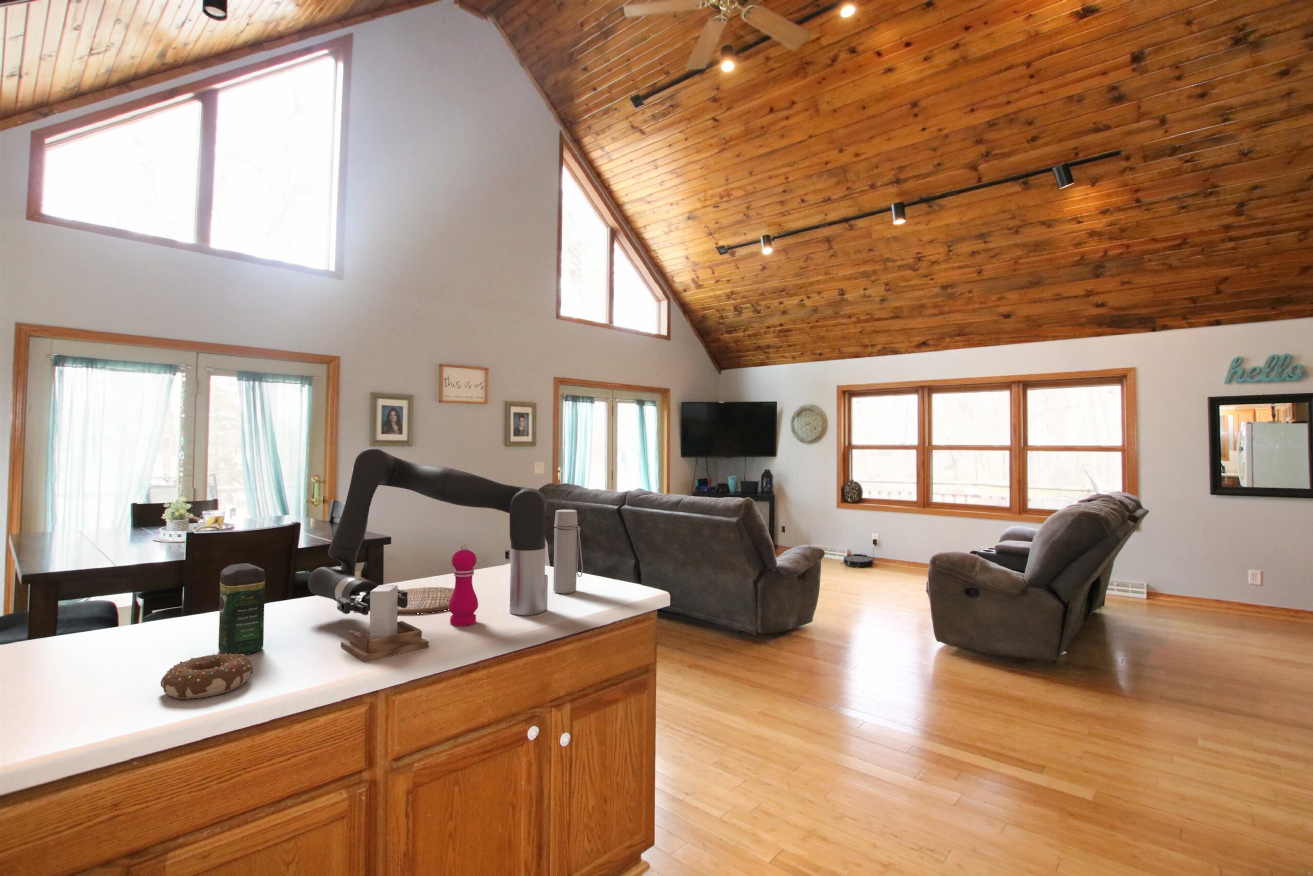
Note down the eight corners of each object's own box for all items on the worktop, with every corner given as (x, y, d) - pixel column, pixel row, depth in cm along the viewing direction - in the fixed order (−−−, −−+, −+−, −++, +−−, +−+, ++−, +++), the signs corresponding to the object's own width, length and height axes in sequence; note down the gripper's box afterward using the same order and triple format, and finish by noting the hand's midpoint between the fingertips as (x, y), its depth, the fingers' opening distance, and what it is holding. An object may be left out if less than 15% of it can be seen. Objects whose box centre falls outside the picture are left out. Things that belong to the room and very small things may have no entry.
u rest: (402, 634, 150) (402, 618, 150) (428, 646, 141) (428, 630, 141) (340, 647, 140) (341, 630, 140) (364, 661, 131) (364, 644, 131)
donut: (260, 689, 117) (261, 662, 117) (167, 710, 107) (168, 680, 107) (242, 668, 127) (242, 643, 127) (155, 686, 117) (156, 659, 117)
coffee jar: (267, 651, 136) (269, 565, 136) (224, 660, 131) (225, 570, 131) (256, 641, 143) (258, 559, 143) (214, 648, 138) (216, 563, 138)
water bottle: (549, 594, 192) (550, 511, 192) (557, 588, 199) (558, 509, 199) (578, 595, 190) (579, 512, 190) (585, 589, 198) (586, 509, 198)
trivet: (379, 596, 187) (379, 589, 187) (467, 591, 195) (467, 585, 195) (368, 619, 164) (368, 611, 164) (468, 612, 171) (468, 605, 171)
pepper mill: (469, 628, 156) (470, 546, 156) (442, 625, 157) (443, 545, 157) (482, 620, 163) (484, 542, 163) (457, 618, 164) (458, 541, 165)
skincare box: (378, 637, 143) (379, 584, 144) (397, 637, 144) (398, 584, 144) (368, 646, 137) (369, 591, 137) (388, 645, 138) (389, 591, 138)
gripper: (325, 582, 146) (353, 595, 135) (387, 574, 157) (417, 585, 146) (325, 615, 146) (353, 630, 135) (386, 604, 157) (417, 617, 146)
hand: (386, 606), depth 140 cm, fingers open, 8 cm apart
